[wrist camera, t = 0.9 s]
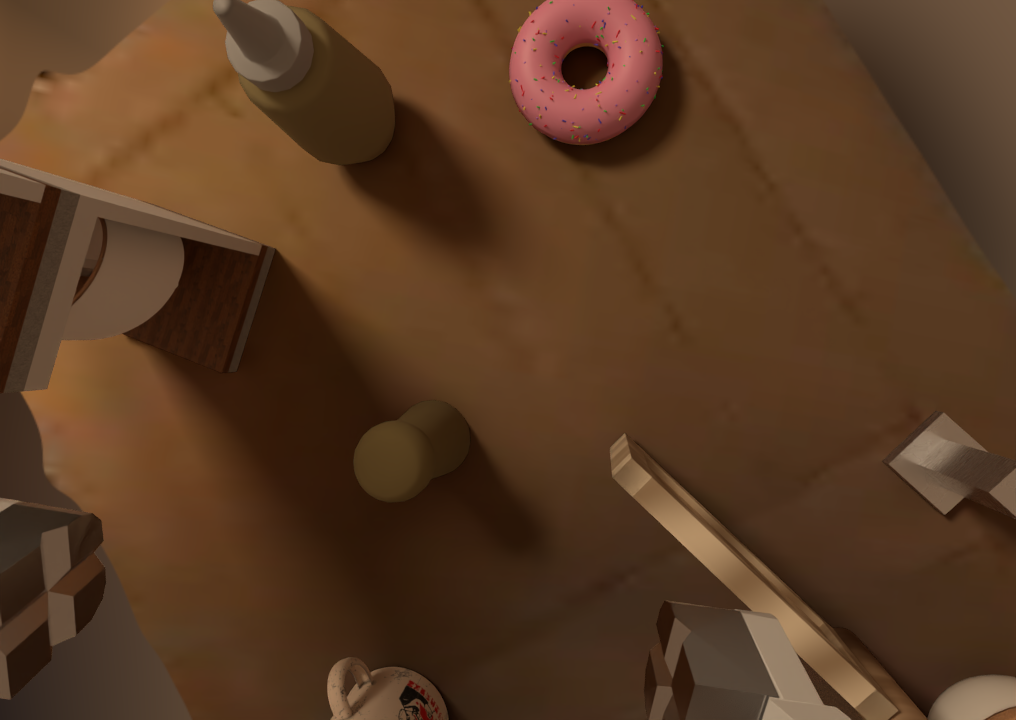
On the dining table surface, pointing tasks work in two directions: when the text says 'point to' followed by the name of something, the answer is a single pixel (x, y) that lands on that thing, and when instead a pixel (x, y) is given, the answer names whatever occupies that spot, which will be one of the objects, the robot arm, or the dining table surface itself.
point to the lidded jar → (977, 699)
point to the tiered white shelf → (116, 277)
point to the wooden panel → (747, 576)
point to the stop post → (954, 468)
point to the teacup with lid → (383, 694)
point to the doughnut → (617, 99)
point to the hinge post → (881, 678)
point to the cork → (411, 451)
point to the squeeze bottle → (309, 80)
